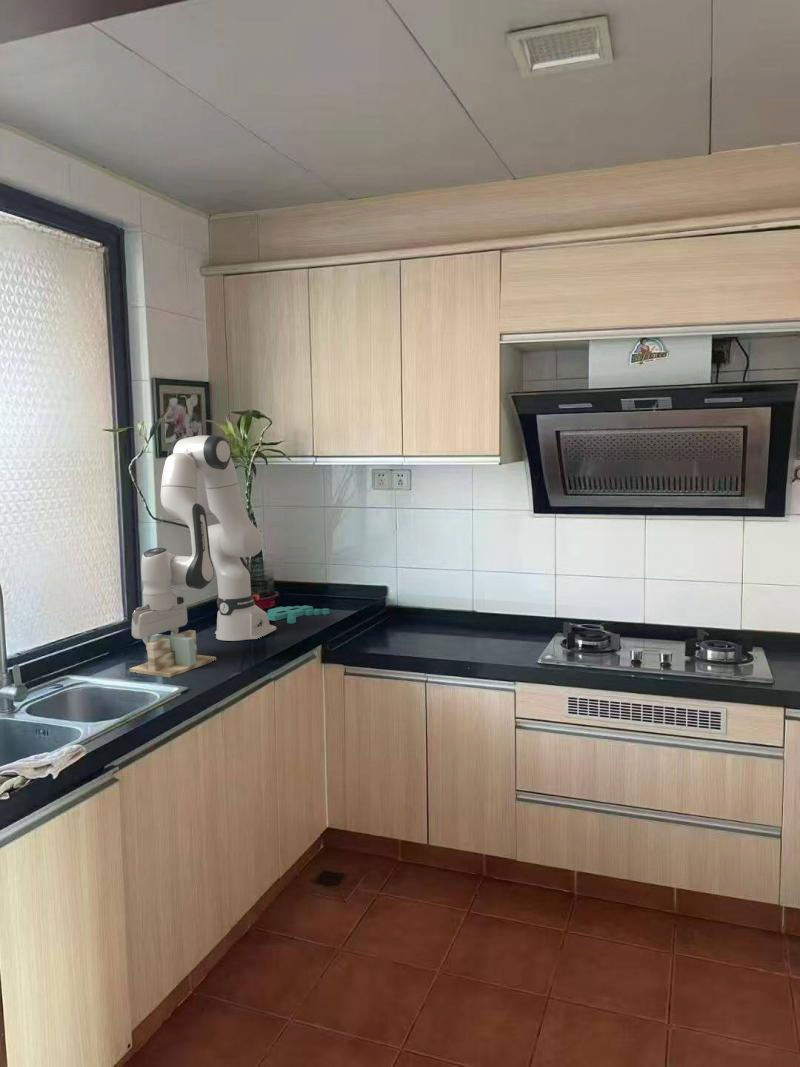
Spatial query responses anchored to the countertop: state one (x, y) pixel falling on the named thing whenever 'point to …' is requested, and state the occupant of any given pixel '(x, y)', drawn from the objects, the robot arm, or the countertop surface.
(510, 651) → the countertop surface
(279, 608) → the alien figure
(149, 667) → the slotted stand
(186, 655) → the crossbar
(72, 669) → the countertop surface
